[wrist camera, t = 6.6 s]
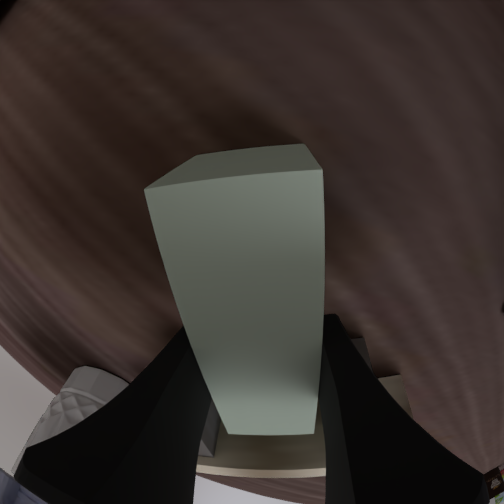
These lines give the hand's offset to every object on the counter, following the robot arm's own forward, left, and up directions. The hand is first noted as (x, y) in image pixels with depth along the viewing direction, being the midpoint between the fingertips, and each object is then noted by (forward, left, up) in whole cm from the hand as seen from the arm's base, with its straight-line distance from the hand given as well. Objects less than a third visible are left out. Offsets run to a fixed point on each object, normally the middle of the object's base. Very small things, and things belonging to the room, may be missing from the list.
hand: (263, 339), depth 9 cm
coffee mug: (-60, +77, -3) cm, 98 cm away
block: (0, -1, -2) cm, 2 cm away
